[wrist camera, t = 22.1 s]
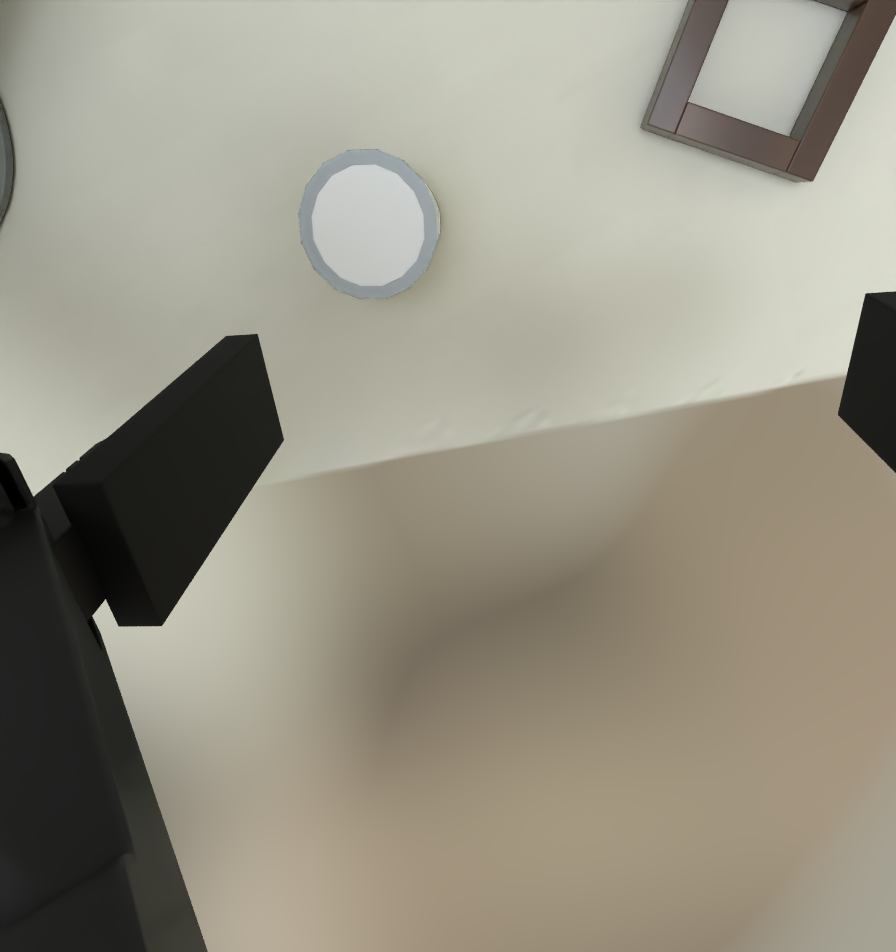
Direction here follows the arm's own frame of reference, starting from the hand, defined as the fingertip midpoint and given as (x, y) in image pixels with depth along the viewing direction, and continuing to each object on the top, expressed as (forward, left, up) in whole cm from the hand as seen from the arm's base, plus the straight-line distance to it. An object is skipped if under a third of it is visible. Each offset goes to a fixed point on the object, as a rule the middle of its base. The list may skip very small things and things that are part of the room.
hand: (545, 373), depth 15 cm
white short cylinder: (-8, 0, -26) cm, 27 cm away
